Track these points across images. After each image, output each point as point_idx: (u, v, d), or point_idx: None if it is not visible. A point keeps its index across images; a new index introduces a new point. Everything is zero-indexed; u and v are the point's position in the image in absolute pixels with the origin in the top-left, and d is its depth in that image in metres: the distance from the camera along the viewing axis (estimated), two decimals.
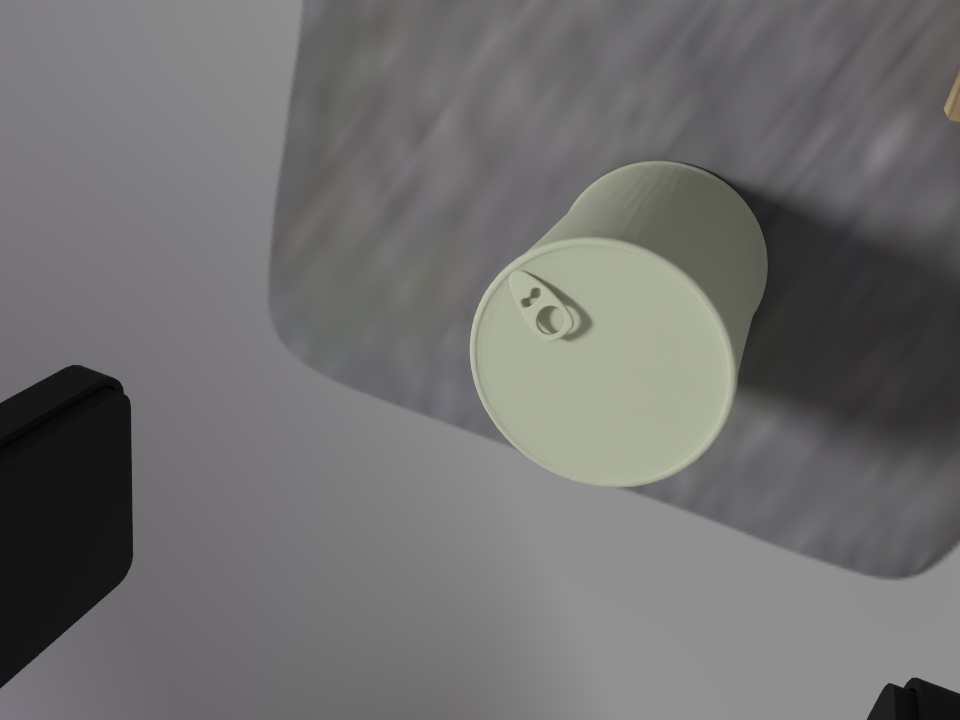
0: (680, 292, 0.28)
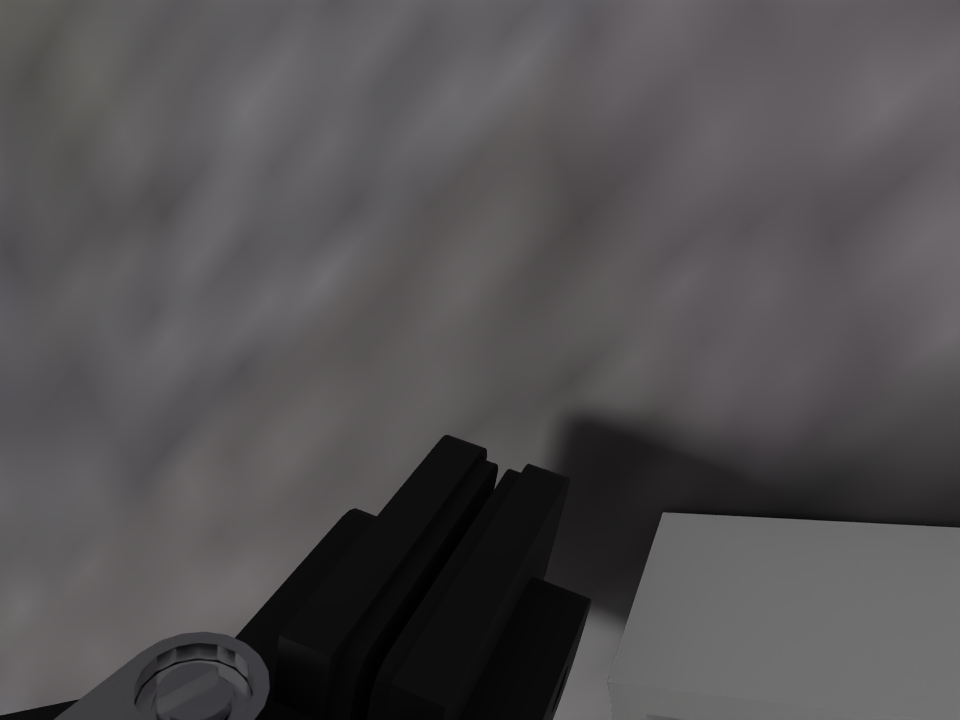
0: None
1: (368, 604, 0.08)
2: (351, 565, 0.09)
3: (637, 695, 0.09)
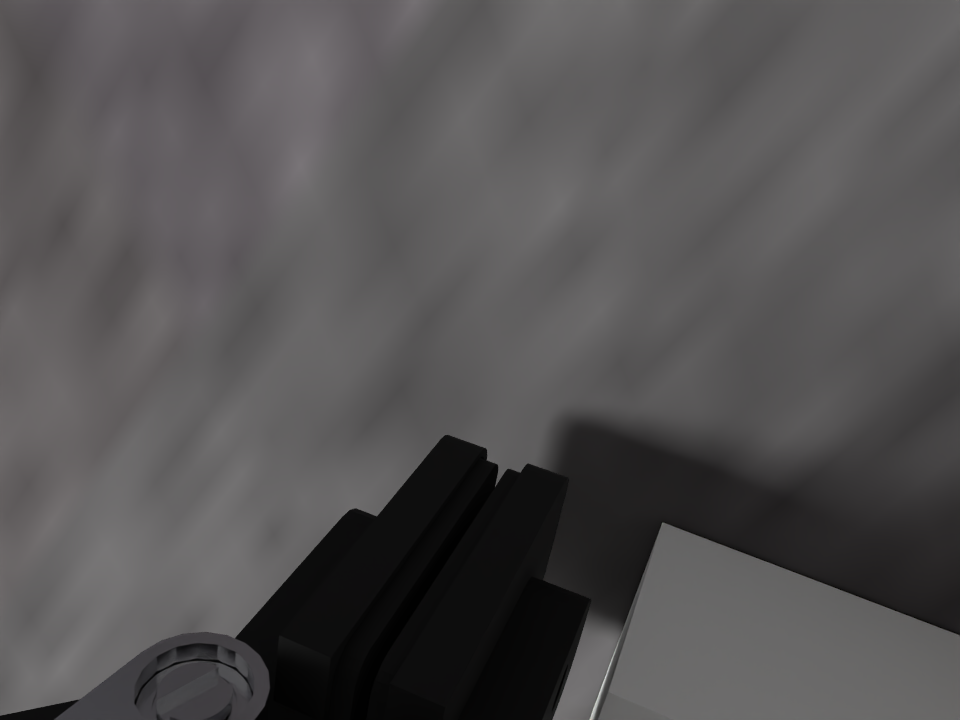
0: None
1: (369, 604, 0.08)
2: (351, 566, 0.09)
3: (633, 712, 0.09)
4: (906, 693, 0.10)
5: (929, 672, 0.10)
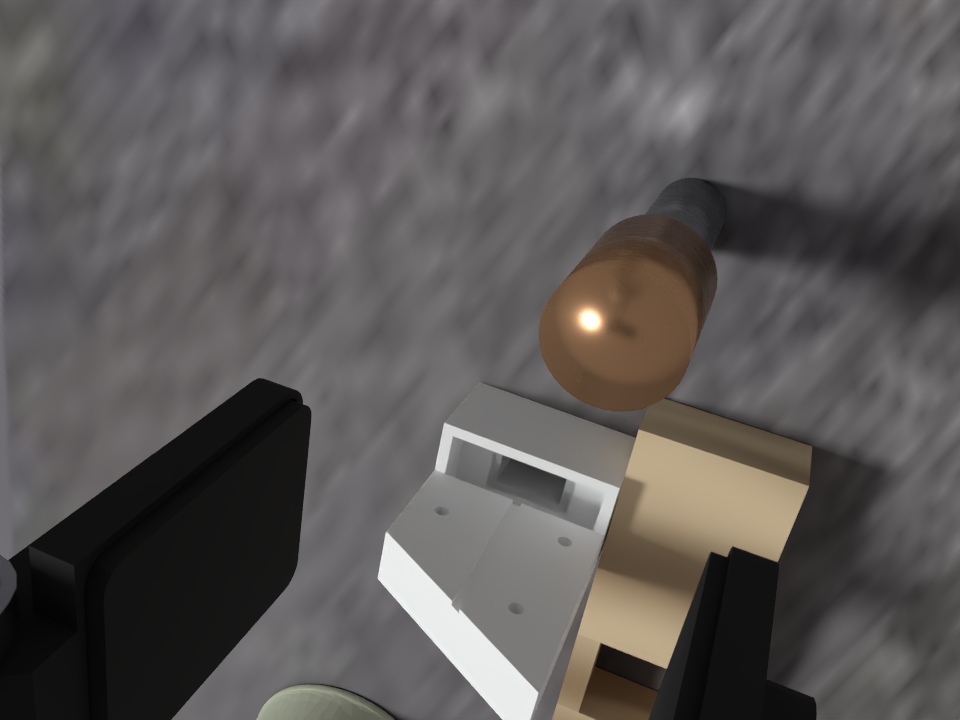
0: None
1: (128, 522, 0.09)
2: (122, 488, 0.09)
3: (452, 429, 0.28)
4: (551, 430, 0.29)
5: (564, 426, 0.30)
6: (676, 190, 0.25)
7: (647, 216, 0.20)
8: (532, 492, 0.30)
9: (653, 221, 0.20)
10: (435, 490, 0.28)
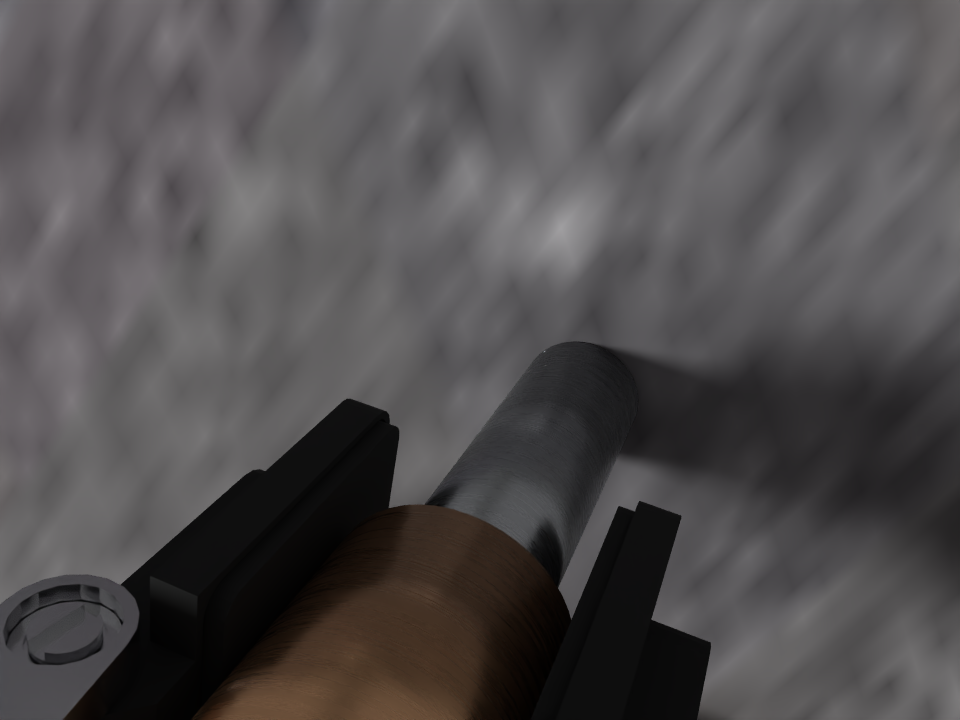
0: None
1: (244, 550, 0.09)
2: (232, 515, 0.09)
3: None
4: None
5: None
6: (544, 377, 0.14)
7: (425, 513, 0.10)
8: None
9: (429, 536, 0.09)
10: None
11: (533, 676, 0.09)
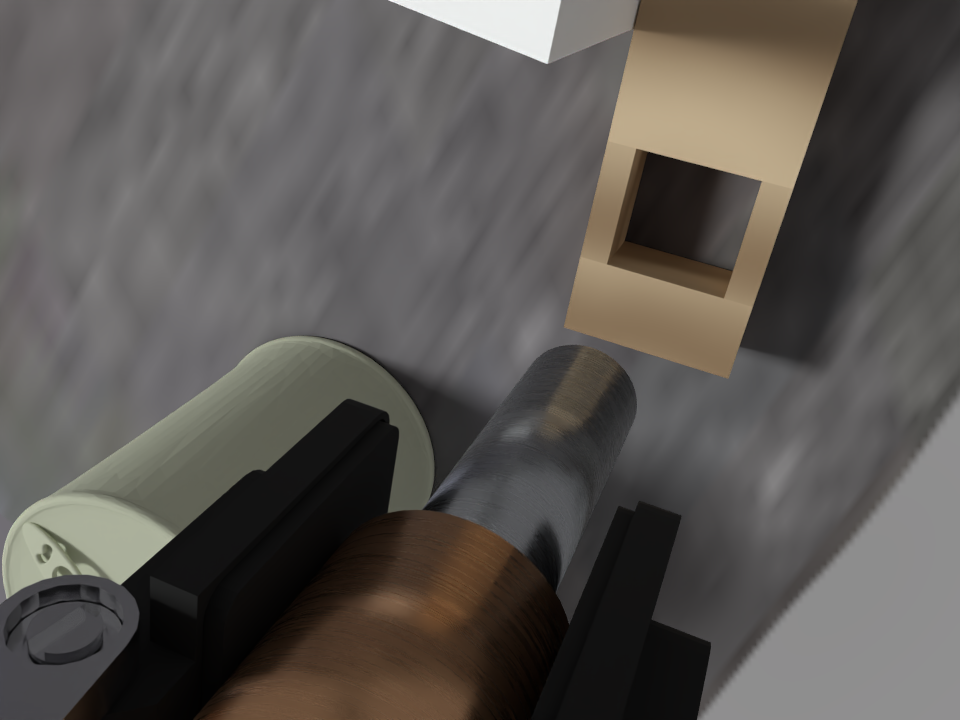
0: None
1: (244, 550, 0.09)
2: (232, 514, 0.09)
3: None
4: None
5: None
6: (542, 380, 0.14)
7: (423, 519, 0.10)
8: None
9: (426, 542, 0.09)
10: None
11: (531, 683, 0.09)
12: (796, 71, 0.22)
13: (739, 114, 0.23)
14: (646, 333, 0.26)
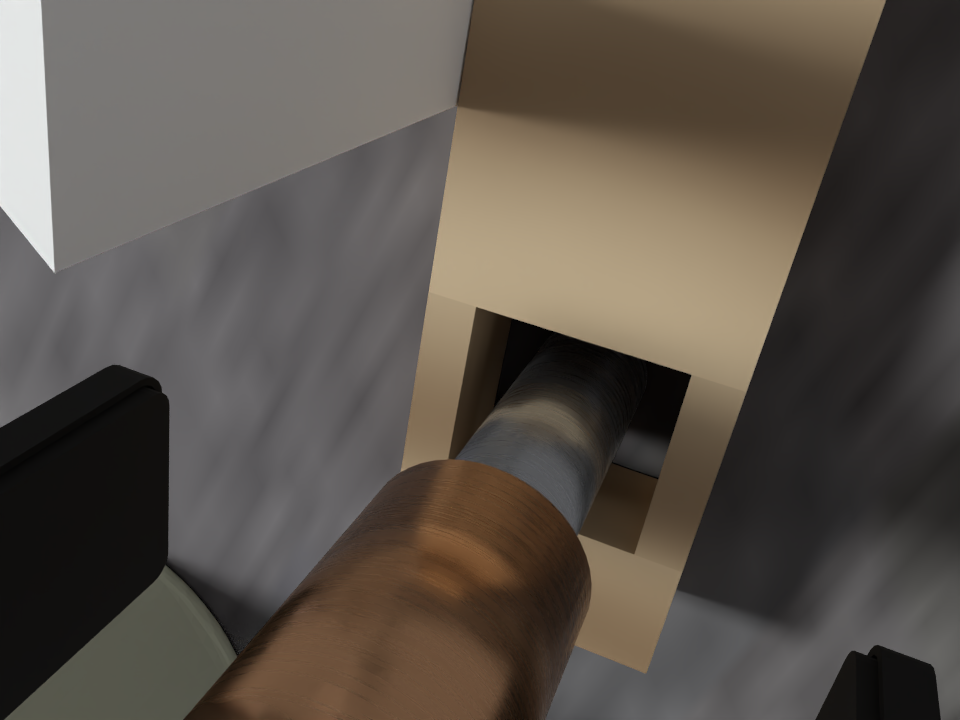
0: None
1: None
2: None
3: None
4: None
5: None
6: (559, 351, 0.15)
7: (455, 466, 0.11)
8: None
9: (459, 486, 0.10)
10: None
11: (556, 611, 0.10)
12: (747, 190, 0.12)
13: (648, 260, 0.13)
14: None
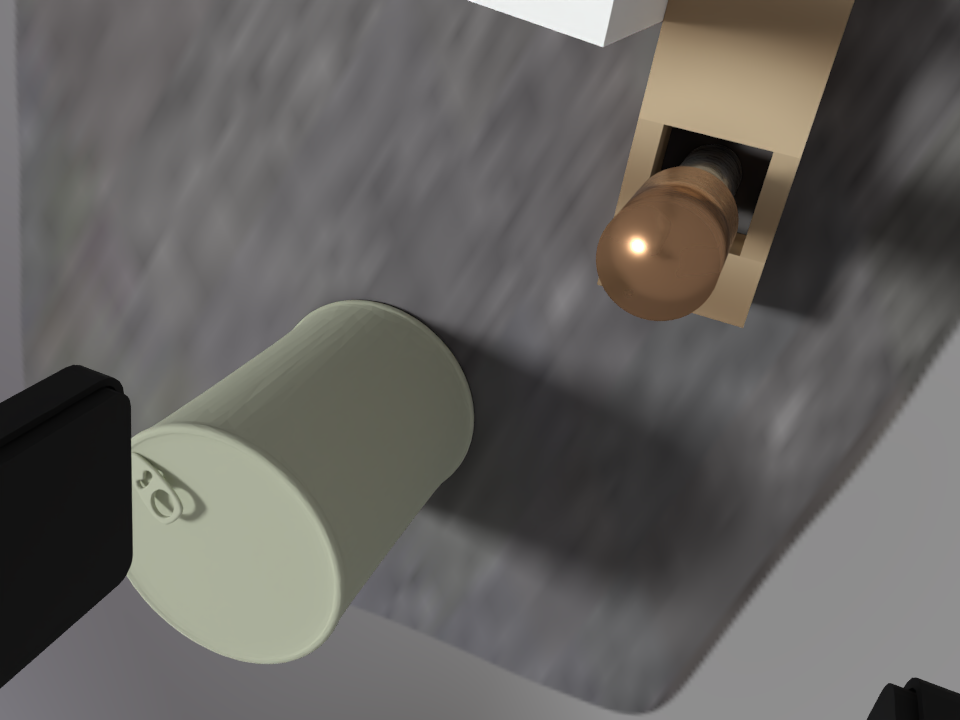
0: (275, 483, 0.27)
1: None
2: None
3: None
4: None
5: None
6: (700, 152, 0.29)
7: (680, 167, 0.25)
8: None
9: (686, 170, 0.24)
10: None
11: (730, 214, 0.24)
12: (803, 56, 0.26)
13: (754, 93, 0.27)
14: None
